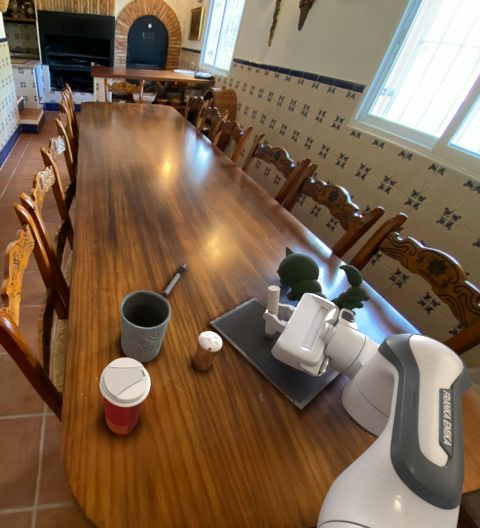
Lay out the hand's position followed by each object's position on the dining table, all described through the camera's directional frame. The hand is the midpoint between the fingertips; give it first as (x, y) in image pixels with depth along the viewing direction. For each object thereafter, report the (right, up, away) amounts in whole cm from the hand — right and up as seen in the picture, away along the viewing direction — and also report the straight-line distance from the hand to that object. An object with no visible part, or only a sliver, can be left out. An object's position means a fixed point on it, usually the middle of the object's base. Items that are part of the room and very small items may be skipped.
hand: (267, 308), depth 65 cm
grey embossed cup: (-28, -8, 0) cm, 29 cm away
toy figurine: (+15, -1, +14) cm, 20 cm away
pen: (-18, +5, +17) cm, 25 cm away
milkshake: (-15, -12, -3) cm, 20 cm away
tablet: (+2, -9, +2) cm, 9 cm away
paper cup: (-32, -18, -12) cm, 39 cm away
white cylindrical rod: (+2, -7, +3) cm, 7 cm away
